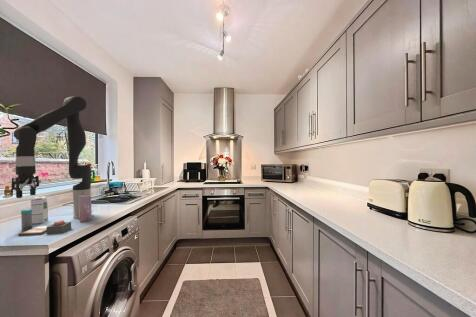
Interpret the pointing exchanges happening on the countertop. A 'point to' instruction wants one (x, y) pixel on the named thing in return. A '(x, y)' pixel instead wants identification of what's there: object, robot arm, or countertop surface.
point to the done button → (58, 223)
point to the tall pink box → (85, 208)
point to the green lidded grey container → (26, 219)
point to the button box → (58, 228)
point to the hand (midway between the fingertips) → (26, 196)
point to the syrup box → (39, 209)
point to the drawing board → (34, 231)
